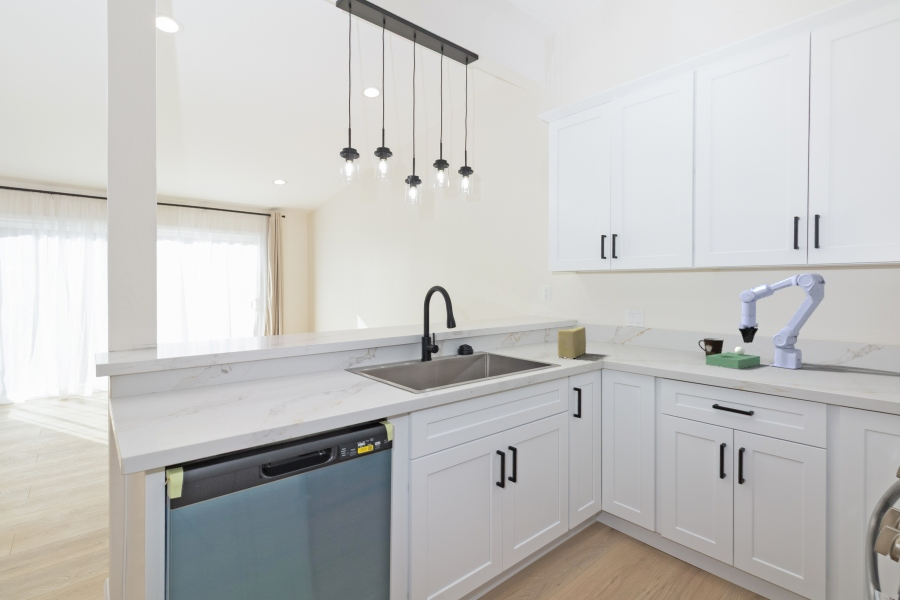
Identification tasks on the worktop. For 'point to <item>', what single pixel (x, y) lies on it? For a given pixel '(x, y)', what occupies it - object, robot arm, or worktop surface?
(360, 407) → the worktop surface
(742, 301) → the robot arm
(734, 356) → the practice green
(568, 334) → the cheese
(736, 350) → the ball
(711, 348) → the coffee mug
